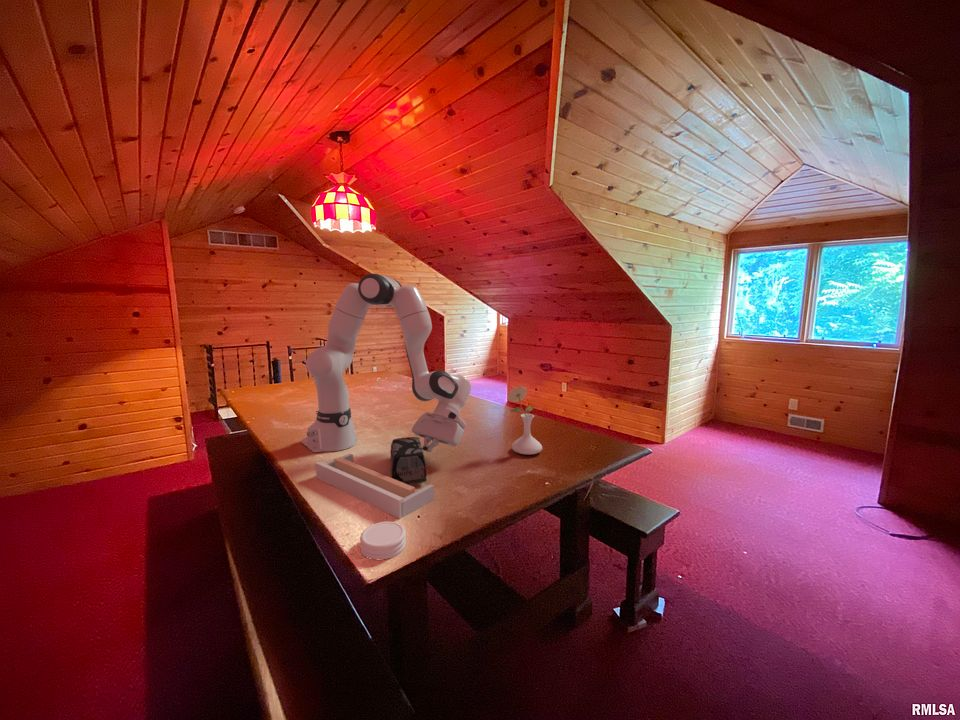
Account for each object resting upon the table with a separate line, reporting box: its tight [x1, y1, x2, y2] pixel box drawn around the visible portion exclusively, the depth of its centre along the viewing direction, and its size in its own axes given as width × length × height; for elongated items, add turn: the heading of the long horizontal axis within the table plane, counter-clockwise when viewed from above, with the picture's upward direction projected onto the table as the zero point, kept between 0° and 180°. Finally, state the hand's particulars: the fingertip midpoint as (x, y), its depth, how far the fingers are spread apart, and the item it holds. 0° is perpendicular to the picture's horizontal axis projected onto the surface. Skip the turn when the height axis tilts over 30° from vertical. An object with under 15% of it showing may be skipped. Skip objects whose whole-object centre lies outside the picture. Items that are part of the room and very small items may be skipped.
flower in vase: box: [507, 385, 543, 456], centre depth 141 cm, size 13×11×25 cm
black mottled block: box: [389, 436, 428, 485], centre depth 126 cm, size 11×25×10 cm, turn 14°
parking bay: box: [314, 453, 435, 520], centre depth 114 cm, size 39×12×5 cm, turn 53°
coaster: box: [359, 521, 407, 560], centre depth 87 cm, size 10×10×4 cm
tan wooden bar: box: [333, 456, 416, 498], centre depth 114 cm, size 35×2×5 cm, turn 53°
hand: (426, 450), depth 132 cm, fingers closed
